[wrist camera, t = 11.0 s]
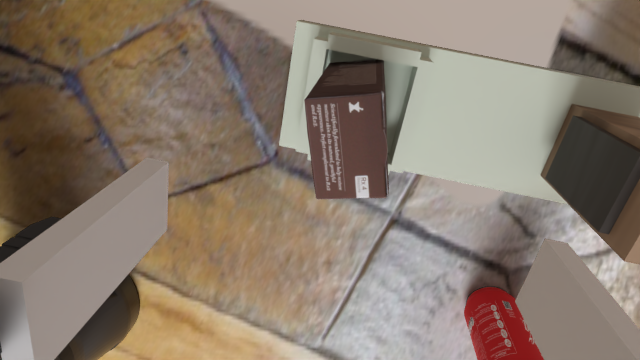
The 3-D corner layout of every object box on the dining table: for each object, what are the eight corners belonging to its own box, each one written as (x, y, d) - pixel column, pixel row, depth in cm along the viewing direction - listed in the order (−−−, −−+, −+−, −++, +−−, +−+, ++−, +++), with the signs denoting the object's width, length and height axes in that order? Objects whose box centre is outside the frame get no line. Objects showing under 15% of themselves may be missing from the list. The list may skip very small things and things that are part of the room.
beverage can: (472, 277, 40) (511, 382, 29) (524, 290, 40) (582, 399, 29) (454, 316, 42) (484, 427, 31) (503, 328, 42) (550, 443, 31)
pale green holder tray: (283, 138, 36) (272, 155, 32) (300, 19, 32) (290, 22, 28) (619, 206, 36) (651, 233, 32) (680, 94, 32) (727, 108, 27)
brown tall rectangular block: (532, 173, 33) (613, 259, 22) (563, 102, 31) (671, 158, 20) (601, 187, 33) (716, 280, 22) (638, 116, 31) (787, 181, 20)
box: (324, 62, 32) (301, 96, 21) (383, 57, 31) (392, 88, 20) (331, 137, 34) (314, 202, 23) (386, 133, 33) (395, 199, 22)
